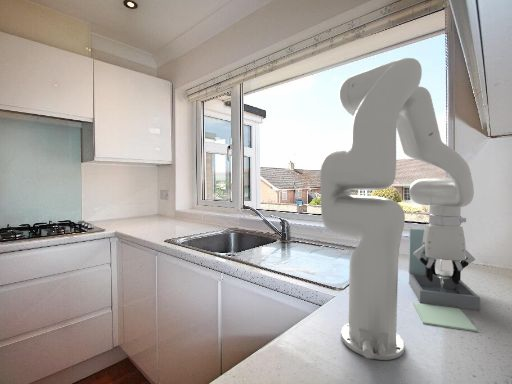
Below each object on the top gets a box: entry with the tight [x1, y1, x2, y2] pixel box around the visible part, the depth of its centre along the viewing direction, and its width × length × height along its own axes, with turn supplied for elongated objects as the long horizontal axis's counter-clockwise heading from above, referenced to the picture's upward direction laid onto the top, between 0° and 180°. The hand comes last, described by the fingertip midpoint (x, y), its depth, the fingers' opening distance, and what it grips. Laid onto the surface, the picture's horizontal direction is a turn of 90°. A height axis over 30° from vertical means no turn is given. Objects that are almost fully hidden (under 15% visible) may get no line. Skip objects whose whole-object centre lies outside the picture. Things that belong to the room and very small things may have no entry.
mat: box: [412, 302, 478, 333], centre depth 70 cm, size 11×11×1 cm
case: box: [408, 227, 481, 311], centre depth 82 cm, size 16×14×18 cm
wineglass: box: [432, 259, 455, 292], centre depth 81 cm, size 6×6×12 cm
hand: (442, 280), depth 81 cm, fingers closed on wineglass, 5 cm apart
